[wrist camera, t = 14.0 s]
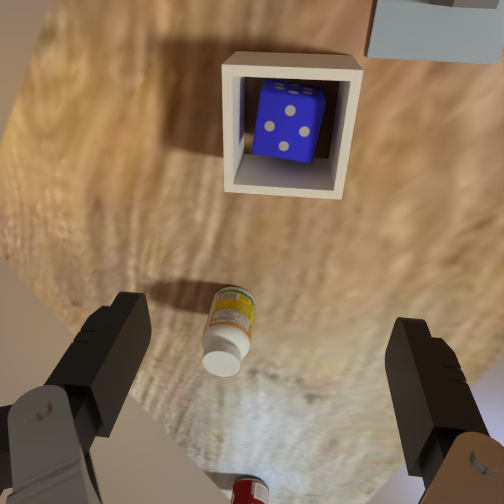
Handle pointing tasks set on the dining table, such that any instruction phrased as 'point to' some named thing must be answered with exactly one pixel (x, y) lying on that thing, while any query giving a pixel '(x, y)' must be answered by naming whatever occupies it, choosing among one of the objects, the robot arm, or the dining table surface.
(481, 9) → the lid
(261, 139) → the die
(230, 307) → the supplement bottle
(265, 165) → the box
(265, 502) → the soda can
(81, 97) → the dining table surface
